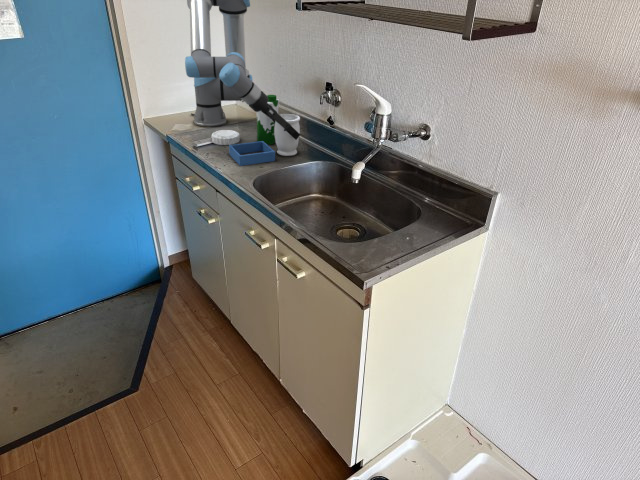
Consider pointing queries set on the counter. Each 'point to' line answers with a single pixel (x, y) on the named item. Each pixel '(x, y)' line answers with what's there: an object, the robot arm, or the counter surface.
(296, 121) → the jar
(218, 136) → the mooncake
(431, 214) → the counter surface
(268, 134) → the milk carton
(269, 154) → the blue crate
